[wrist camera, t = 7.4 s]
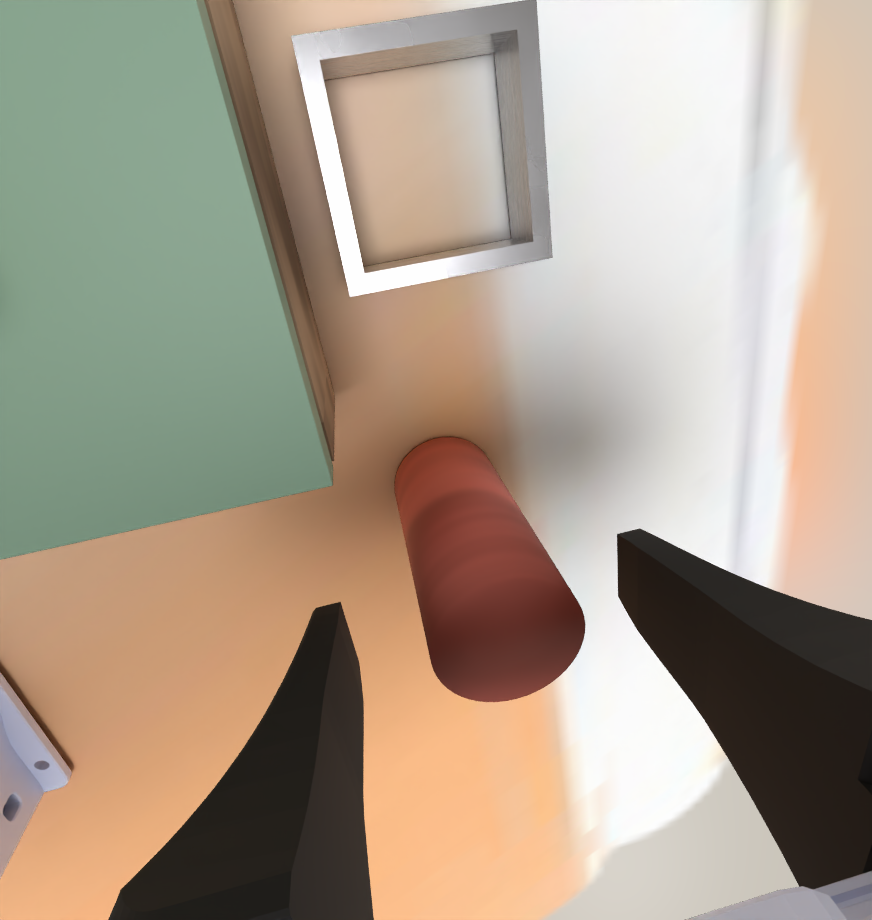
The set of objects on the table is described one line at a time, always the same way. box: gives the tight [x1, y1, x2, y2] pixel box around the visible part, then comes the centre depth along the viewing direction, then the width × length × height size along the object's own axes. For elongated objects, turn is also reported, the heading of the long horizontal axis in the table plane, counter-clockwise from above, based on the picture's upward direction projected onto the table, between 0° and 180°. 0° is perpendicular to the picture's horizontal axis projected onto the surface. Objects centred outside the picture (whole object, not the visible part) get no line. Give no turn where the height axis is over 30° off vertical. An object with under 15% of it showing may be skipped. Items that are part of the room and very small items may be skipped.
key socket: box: [291, 0, 552, 297], centre depth 14 cm, size 6×6×2 cm
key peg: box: [395, 437, 585, 702], centre depth 16 cm, size 4×4×8 cm
